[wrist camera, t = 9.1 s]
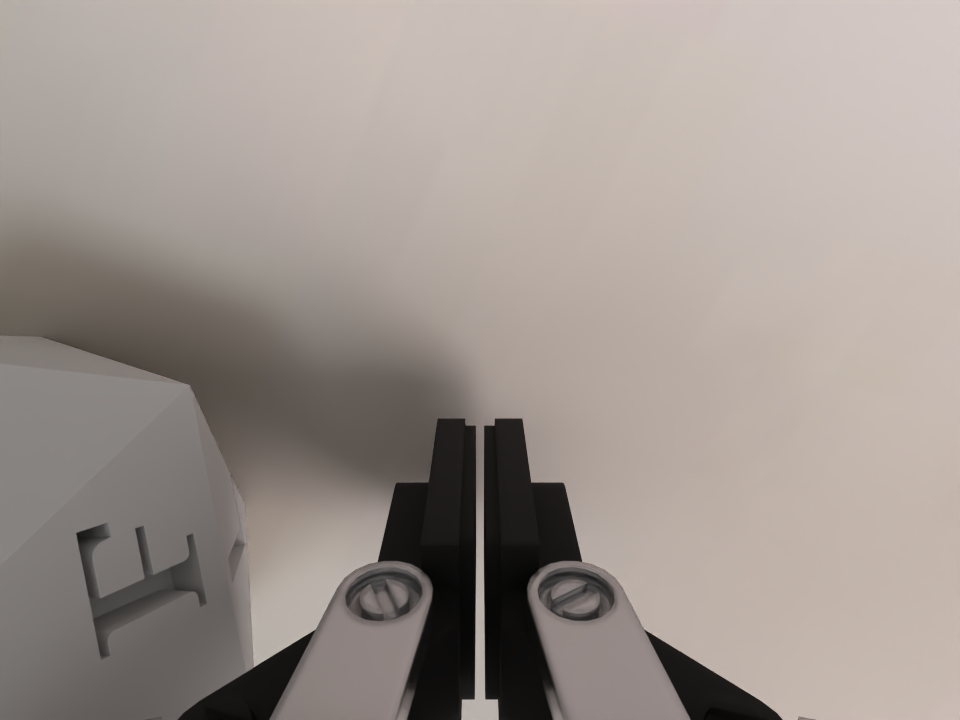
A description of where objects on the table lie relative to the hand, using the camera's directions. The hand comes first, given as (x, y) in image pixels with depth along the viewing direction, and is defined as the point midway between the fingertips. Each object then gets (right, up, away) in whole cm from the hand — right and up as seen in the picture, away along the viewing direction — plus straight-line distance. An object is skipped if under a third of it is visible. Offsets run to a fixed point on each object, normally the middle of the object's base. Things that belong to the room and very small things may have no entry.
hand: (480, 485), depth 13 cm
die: (-8, 0, +1) cm, 8 cm away
